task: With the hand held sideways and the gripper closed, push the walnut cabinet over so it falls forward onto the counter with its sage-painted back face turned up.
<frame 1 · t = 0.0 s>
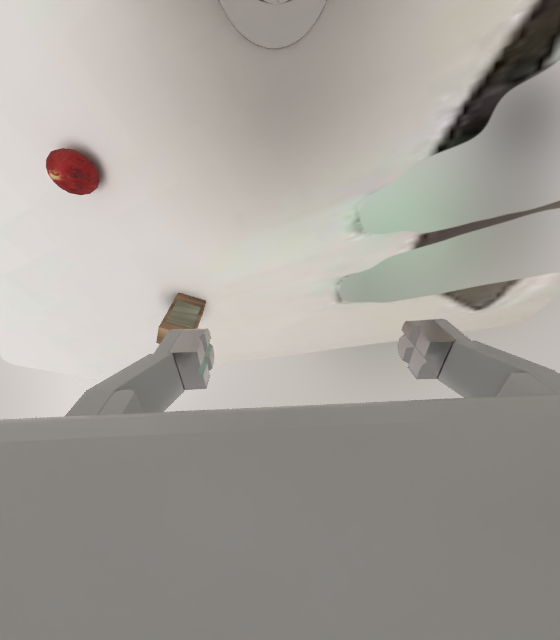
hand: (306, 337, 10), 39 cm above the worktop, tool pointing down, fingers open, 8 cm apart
walnut cabinet: (190, 304, 55), on the worktop
onion: (89, 169, 39), on the worktop
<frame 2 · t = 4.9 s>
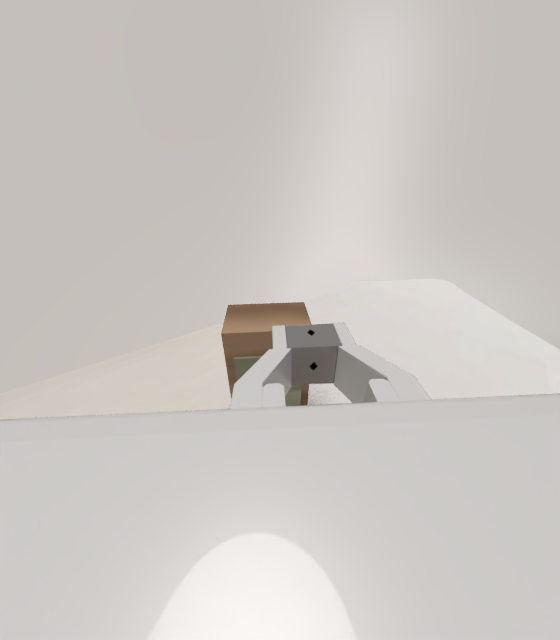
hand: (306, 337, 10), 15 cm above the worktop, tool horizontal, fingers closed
walnut cabinet: (270, 422, 24), on the worktop
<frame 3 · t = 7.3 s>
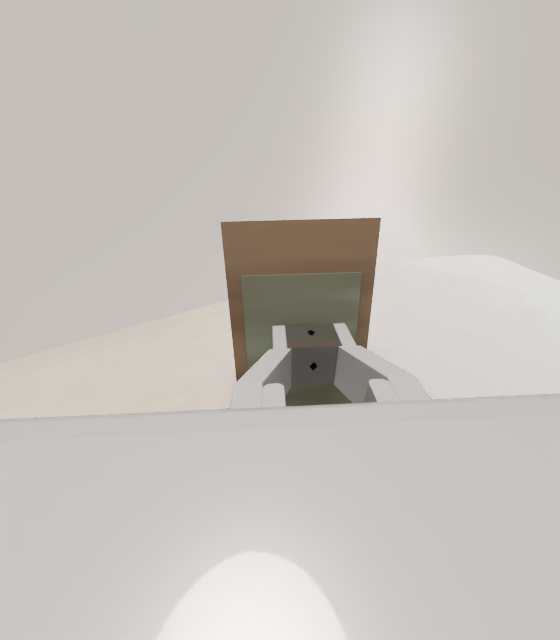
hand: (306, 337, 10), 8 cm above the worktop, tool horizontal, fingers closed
walnut cabinet: (296, 430, 15), on the worktop, tilted 11°
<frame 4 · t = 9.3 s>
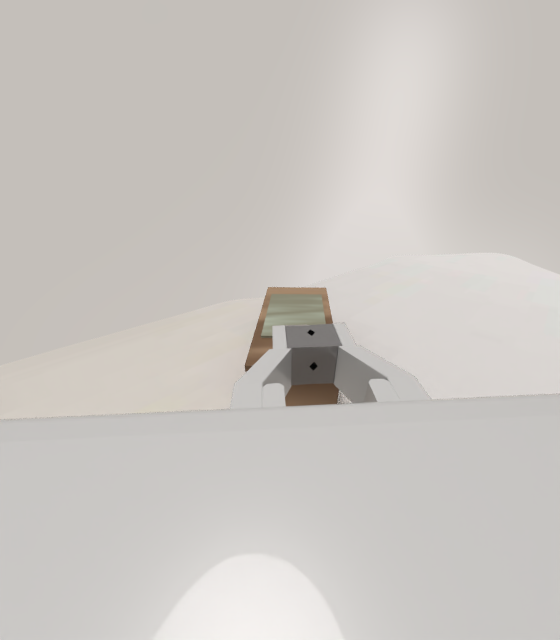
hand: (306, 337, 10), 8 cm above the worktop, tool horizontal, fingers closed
walnut cabinet: (292, 389, 16), point 2 cm above the worktop, tilted 90°
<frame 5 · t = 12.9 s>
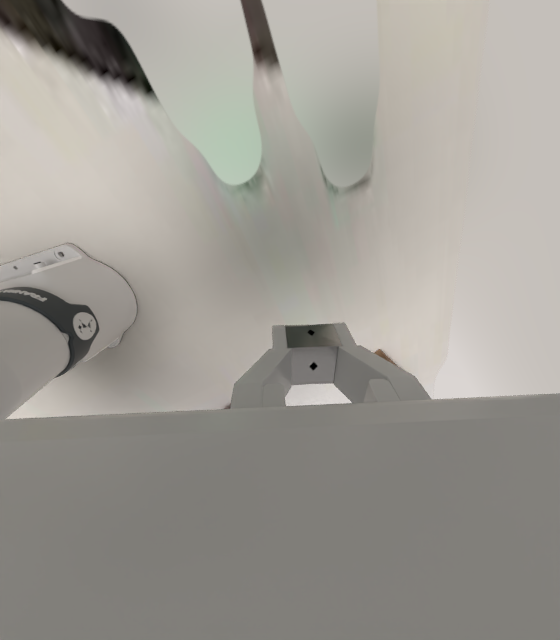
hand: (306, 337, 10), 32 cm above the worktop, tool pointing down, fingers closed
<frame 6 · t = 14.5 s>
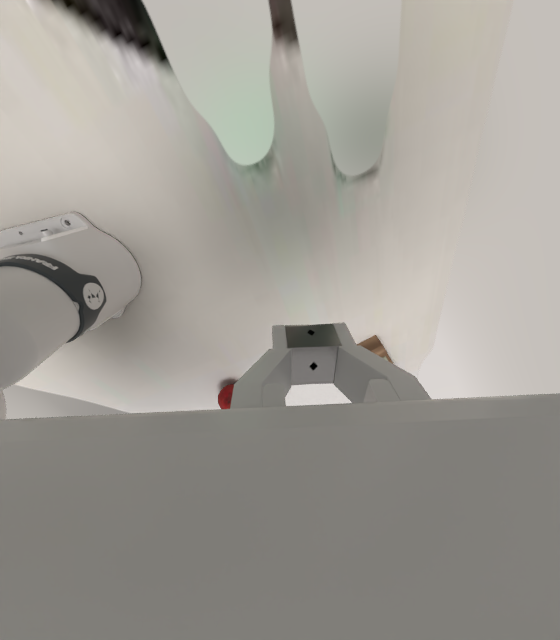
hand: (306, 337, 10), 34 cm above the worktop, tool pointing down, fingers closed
walnut cabinet: (365, 346, 52), point 2 cm above the worktop, tilted 90°
onion: (233, 385, 59), on the worktop
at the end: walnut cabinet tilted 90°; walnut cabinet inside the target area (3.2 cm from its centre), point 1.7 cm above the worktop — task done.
